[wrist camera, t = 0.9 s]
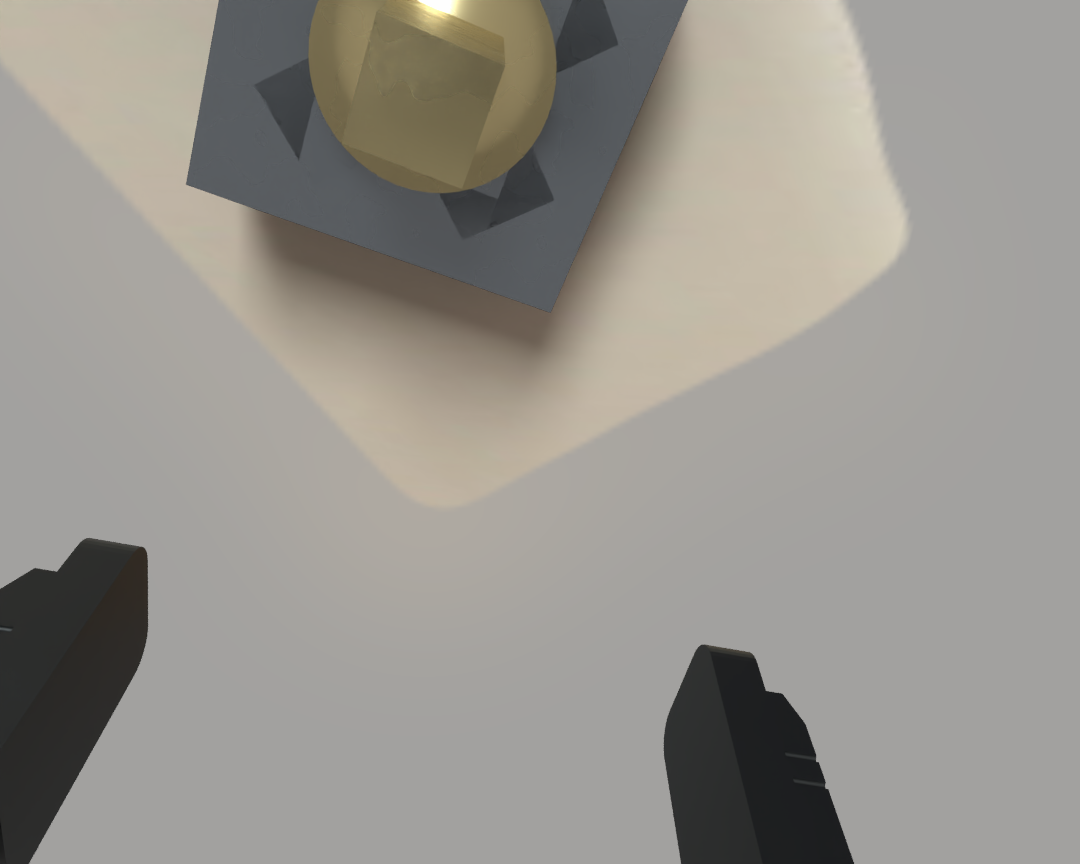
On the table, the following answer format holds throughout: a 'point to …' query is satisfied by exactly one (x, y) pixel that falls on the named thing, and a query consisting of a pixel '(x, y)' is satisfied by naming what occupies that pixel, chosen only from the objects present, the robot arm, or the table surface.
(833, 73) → the table surface
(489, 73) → the end cover
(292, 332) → the table surface
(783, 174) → the table surface
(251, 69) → the housing
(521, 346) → the table surface
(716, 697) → the robot arm
